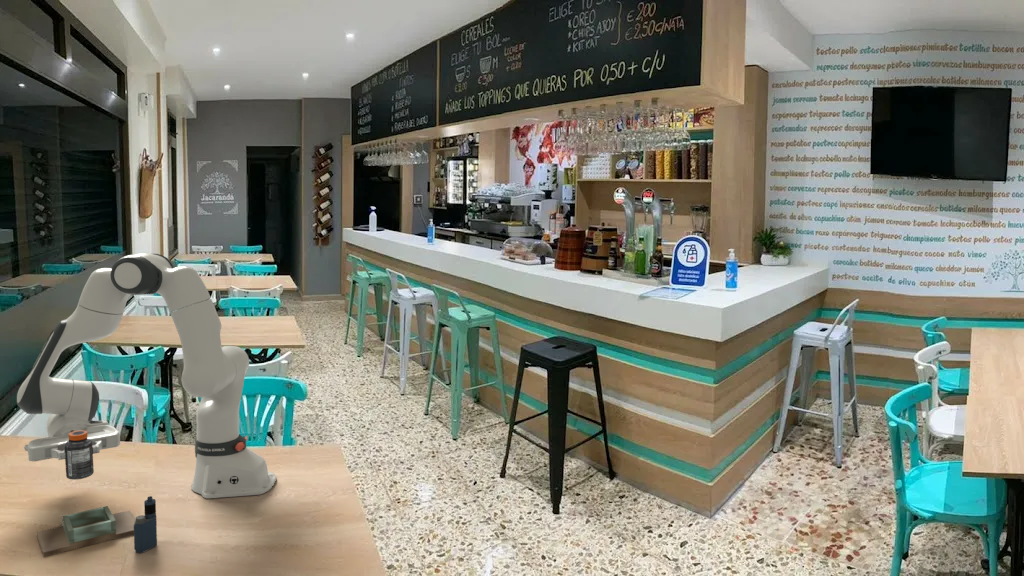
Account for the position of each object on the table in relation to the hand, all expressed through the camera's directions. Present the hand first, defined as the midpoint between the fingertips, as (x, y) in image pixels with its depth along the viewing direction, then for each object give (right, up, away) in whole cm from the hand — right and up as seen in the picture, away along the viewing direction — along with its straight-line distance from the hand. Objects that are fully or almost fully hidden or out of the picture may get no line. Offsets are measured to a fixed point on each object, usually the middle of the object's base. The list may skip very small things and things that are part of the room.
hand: (79, 453), depth 175 cm
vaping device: (+23, -20, -12) cm, 32 cm away
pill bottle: (-1, -6, +2) cm, 6 cm away
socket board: (+6, -18, -6) cm, 20 cm away
